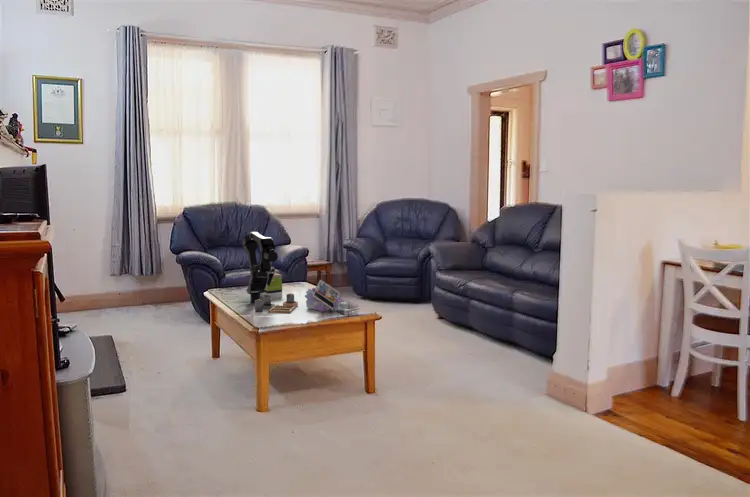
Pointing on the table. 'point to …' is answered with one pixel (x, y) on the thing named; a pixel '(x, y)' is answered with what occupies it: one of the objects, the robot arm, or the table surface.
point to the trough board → (281, 309)
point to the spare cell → (258, 305)
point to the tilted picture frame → (322, 297)
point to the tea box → (274, 287)
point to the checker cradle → (270, 307)
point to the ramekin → (290, 304)
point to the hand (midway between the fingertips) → (266, 287)
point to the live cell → (267, 300)
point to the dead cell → (290, 298)
